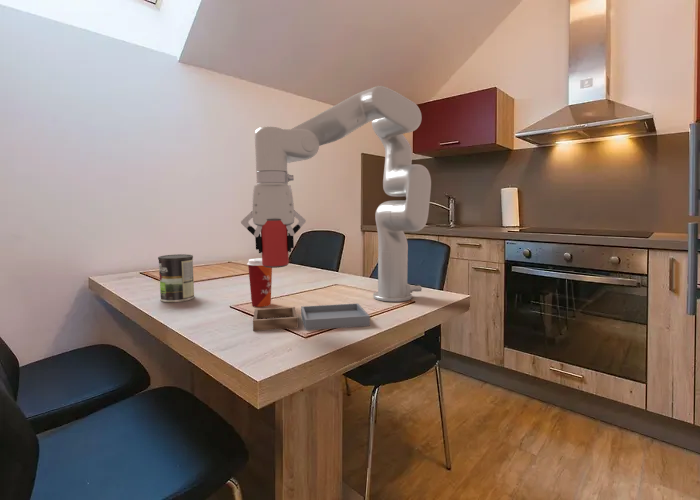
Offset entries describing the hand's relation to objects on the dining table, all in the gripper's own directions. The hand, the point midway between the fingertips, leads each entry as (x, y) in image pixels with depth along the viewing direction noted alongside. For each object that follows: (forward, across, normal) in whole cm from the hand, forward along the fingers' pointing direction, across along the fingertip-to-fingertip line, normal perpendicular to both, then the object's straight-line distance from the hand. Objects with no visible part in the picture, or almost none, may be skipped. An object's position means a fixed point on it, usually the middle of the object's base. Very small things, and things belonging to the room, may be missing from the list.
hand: (275, 251), depth 94 cm
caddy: (+18, +1, 0) cm, 18 cm away
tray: (+19, -14, +1) cm, 24 cm away
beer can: (+4, 0, 0) cm, 4 cm away
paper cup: (+19, +5, -20) cm, 28 cm away
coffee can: (+18, +32, -34) cm, 50 cm away
